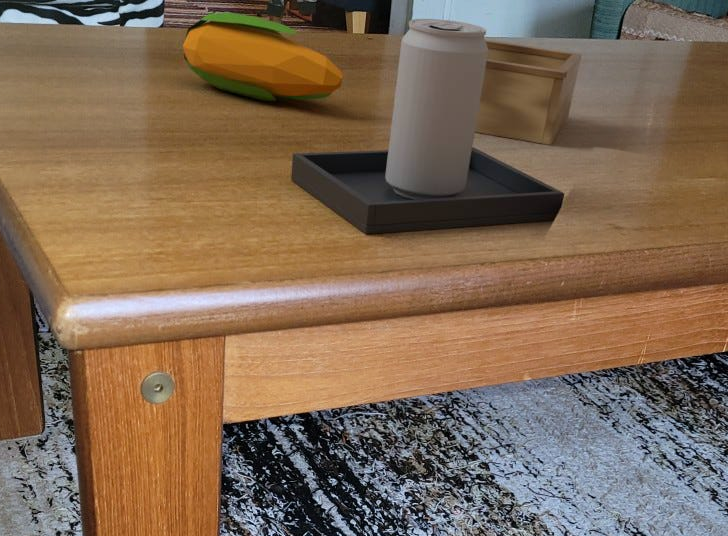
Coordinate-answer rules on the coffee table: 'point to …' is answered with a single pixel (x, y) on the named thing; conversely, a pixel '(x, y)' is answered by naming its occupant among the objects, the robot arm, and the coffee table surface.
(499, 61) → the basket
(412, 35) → the beverage can
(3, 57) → the coffee table surface
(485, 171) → the tray
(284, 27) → the corn
